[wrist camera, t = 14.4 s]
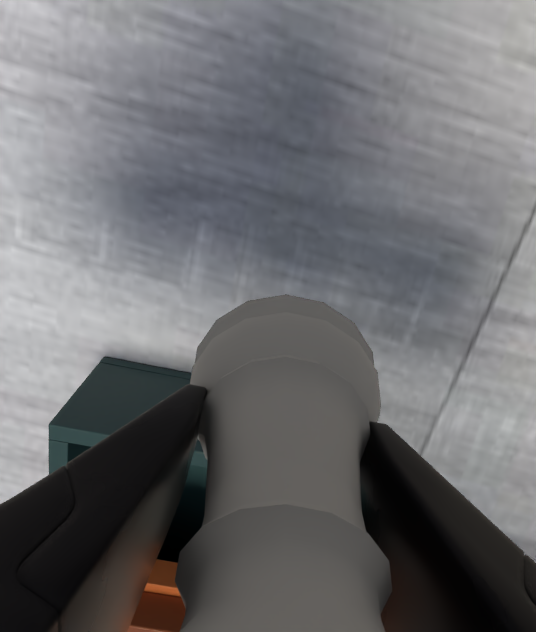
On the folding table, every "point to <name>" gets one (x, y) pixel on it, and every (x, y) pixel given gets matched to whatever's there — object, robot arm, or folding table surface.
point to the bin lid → (160, 602)
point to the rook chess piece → (284, 475)
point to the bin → (116, 411)
